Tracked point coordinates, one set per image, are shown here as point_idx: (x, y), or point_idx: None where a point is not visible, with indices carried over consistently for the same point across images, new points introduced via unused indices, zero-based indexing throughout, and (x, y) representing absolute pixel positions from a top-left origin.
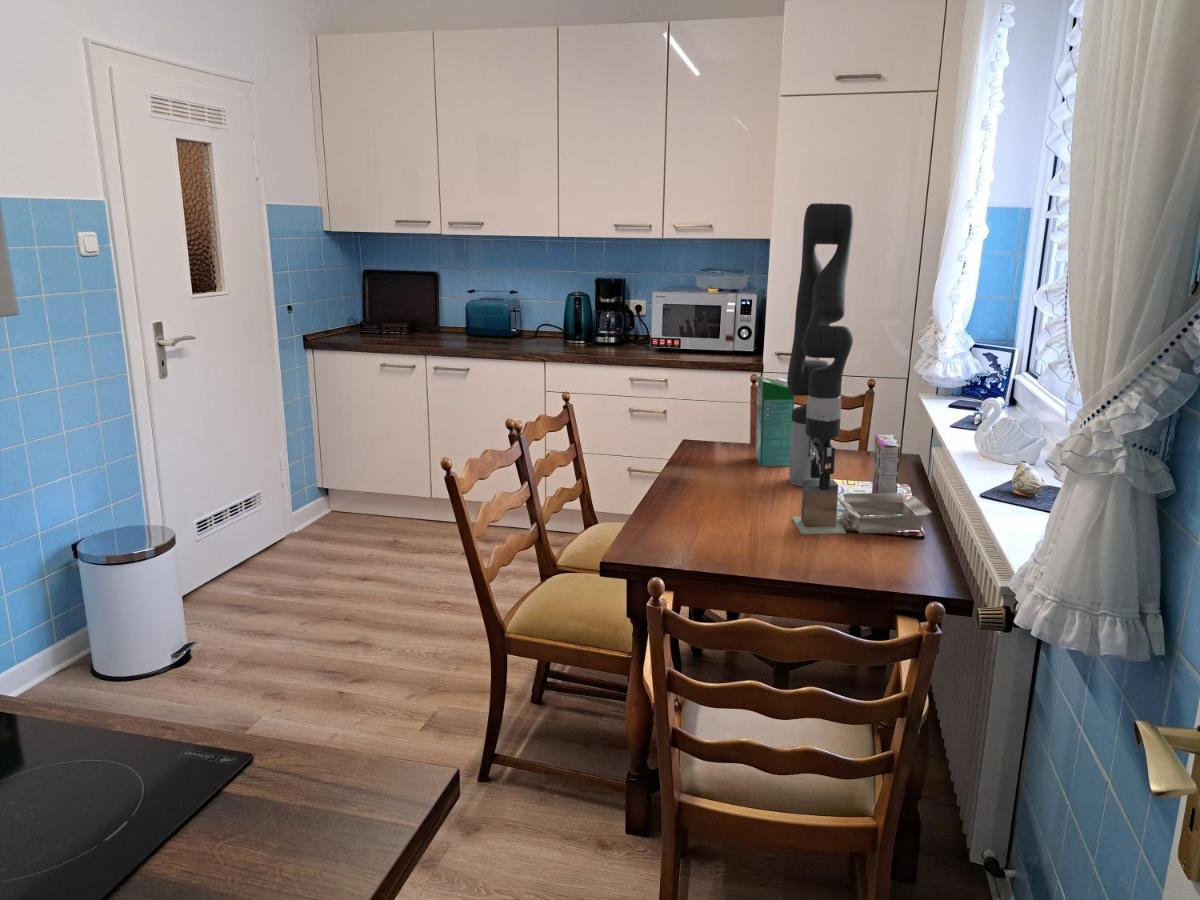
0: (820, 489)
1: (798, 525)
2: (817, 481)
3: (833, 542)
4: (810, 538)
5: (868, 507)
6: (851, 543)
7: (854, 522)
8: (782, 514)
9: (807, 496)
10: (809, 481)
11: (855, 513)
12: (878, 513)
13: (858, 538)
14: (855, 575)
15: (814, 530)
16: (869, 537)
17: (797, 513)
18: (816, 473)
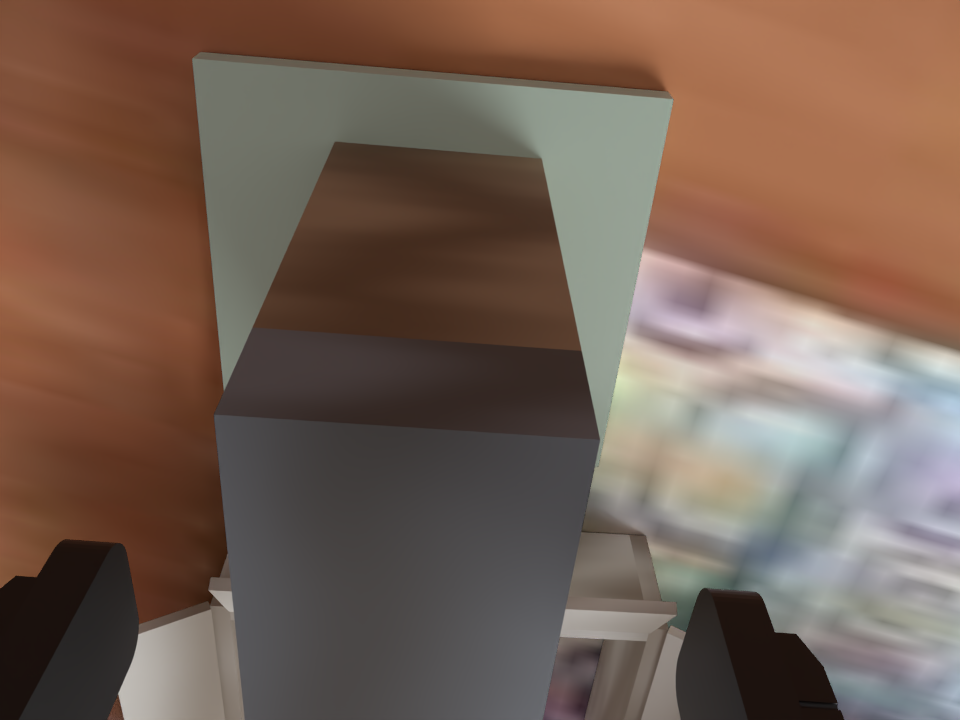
0: (64, 543)
1: (389, 84)
2: (457, 609)
3: (3, 281)
4: (83, 108)
5: (608, 711)
6: (5, 404)
7: None
8: (855, 31)
9: (264, 317)
10: (474, 510)
11: None
12: (590, 716)
13: (129, 479)
14: None
15: (234, 202)
16: (159, 546)
17: (827, 201)
18: (700, 704)
